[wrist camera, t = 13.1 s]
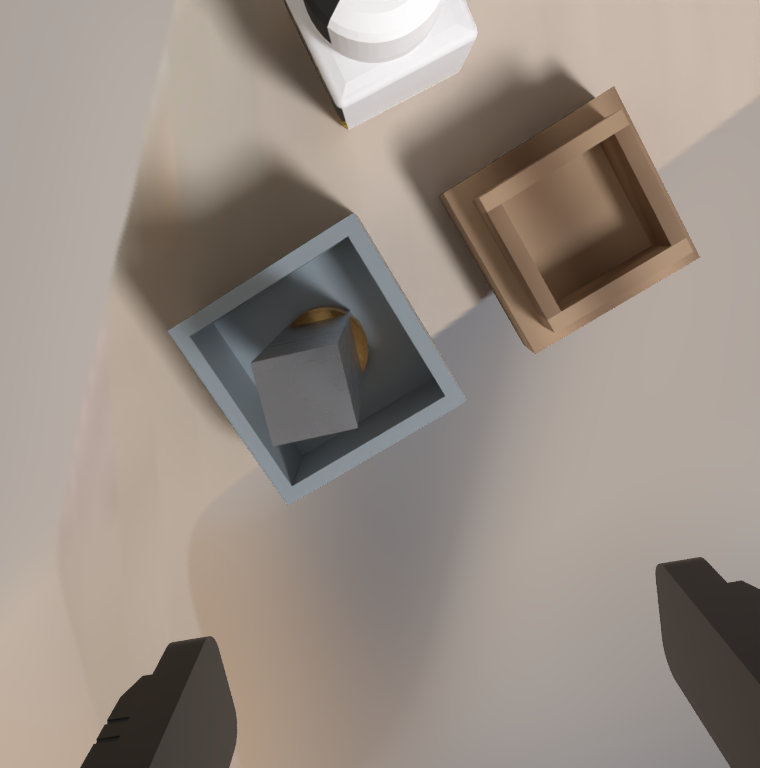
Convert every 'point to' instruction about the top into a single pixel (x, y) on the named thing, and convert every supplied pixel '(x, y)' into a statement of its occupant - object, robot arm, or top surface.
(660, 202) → the socket block
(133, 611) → the top surface
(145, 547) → the top surface
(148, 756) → the robot arm
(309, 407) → the strut
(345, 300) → the bin
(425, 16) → the medicine bottle
